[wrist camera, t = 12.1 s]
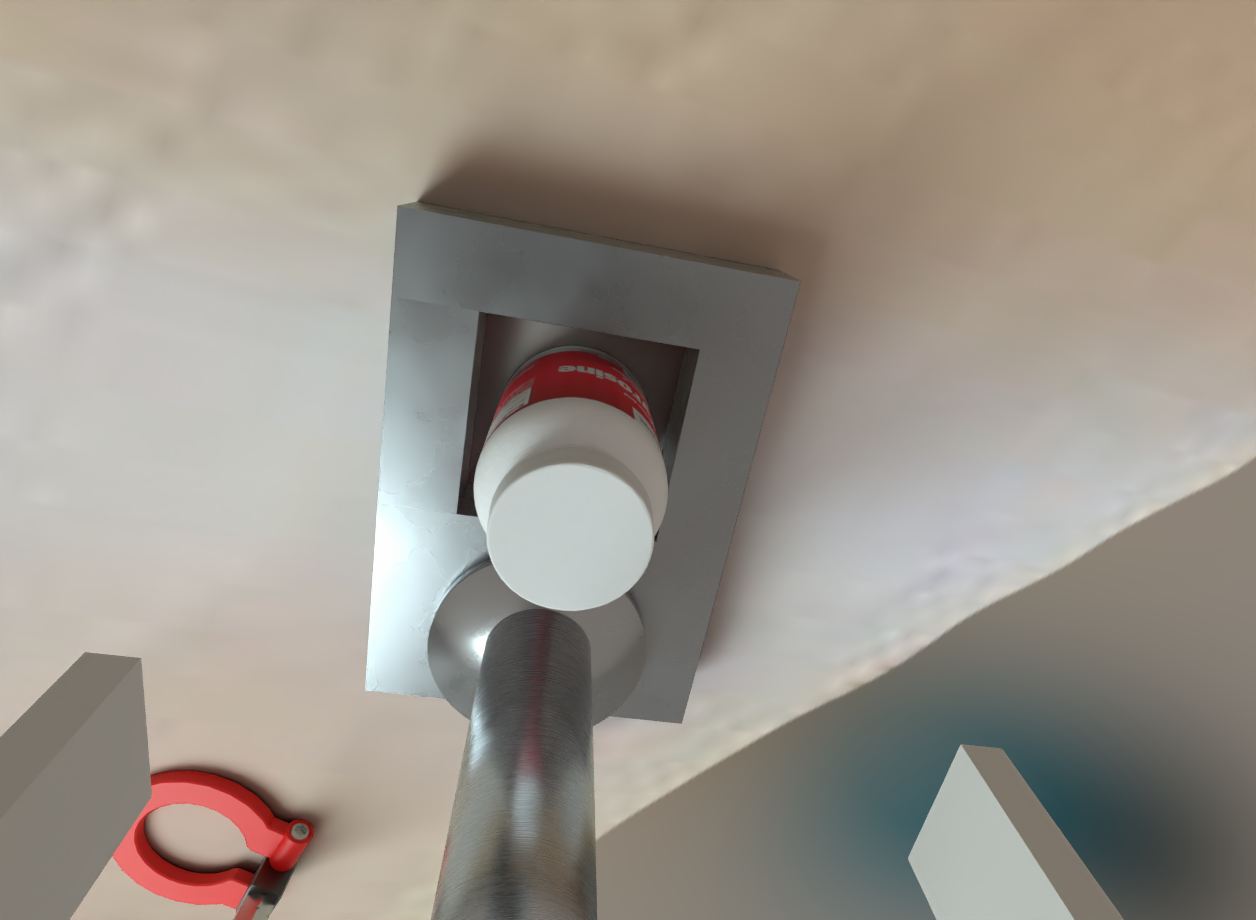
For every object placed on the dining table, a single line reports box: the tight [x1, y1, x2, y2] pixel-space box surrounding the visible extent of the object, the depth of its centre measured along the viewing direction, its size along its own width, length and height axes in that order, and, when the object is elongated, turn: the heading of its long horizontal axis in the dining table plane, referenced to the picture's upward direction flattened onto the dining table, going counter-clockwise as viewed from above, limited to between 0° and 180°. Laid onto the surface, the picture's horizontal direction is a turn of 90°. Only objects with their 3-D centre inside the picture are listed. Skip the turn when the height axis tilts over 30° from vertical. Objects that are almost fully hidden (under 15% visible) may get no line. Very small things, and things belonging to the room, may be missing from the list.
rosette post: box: [365, 202, 800, 920], centre depth 21 cm, size 21×14×23 cm, turn 169°
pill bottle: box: [474, 346, 668, 611], centre depth 25 cm, size 6×6×11 cm
